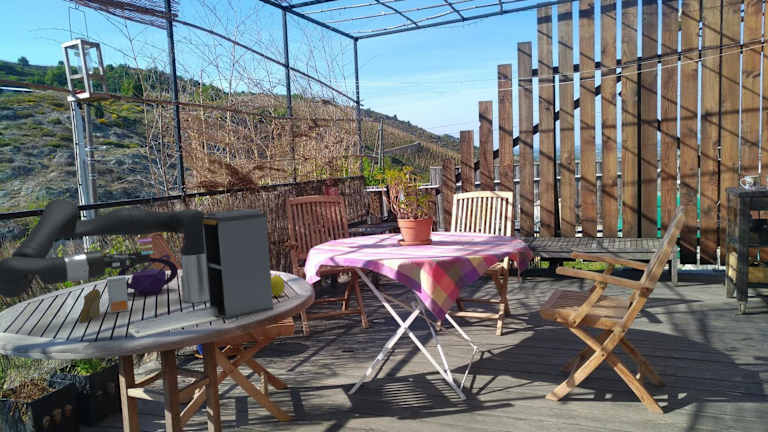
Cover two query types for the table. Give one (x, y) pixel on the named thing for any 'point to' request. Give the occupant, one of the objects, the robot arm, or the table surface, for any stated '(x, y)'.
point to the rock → (90, 306)
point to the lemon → (277, 285)
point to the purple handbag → (149, 273)
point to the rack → (237, 262)
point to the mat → (171, 327)
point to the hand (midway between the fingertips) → (145, 256)
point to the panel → (175, 319)
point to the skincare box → (117, 294)
